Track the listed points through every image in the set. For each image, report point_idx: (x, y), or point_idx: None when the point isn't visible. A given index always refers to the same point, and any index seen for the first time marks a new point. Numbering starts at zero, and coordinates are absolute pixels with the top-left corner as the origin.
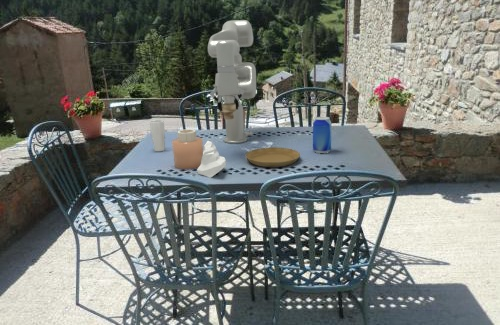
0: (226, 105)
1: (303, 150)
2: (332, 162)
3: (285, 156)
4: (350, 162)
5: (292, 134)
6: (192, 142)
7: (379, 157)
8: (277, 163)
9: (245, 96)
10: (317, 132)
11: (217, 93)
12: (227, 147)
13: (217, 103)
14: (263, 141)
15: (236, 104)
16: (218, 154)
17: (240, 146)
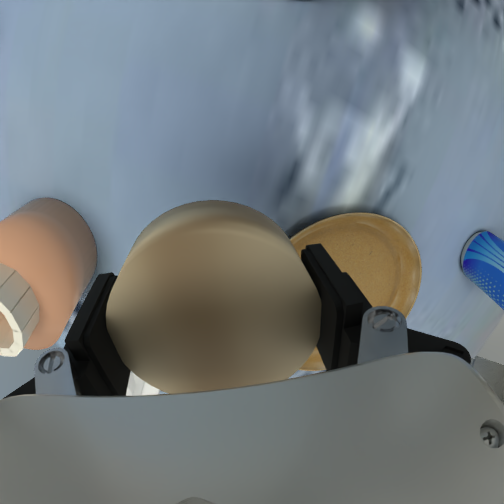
0: (185, 390)
1: (454, 221)
2: (434, 335)
3: (385, 273)
4: (453, 339)
5: (493, 28)
6: (36, 338)
7: (497, 319)
8: (317, 366)
9: None
10: (496, 299)
11: (2, 412)
12: (224, 41)
13: (70, 356)
14: (401, 34)
15: (319, 347)
16: (142, 381)
17: (289, 50)
